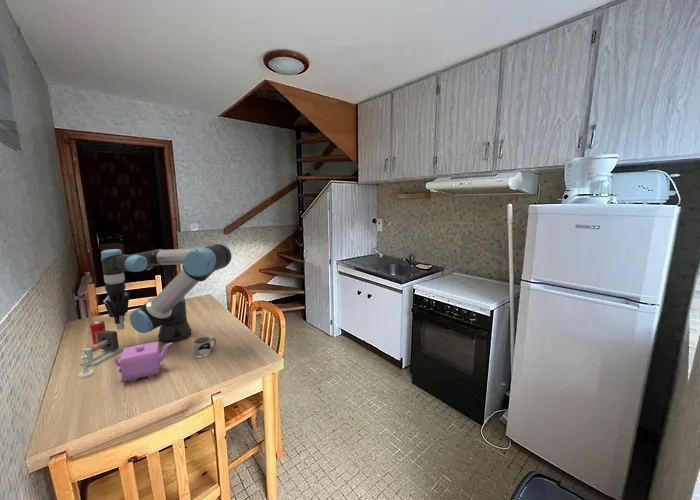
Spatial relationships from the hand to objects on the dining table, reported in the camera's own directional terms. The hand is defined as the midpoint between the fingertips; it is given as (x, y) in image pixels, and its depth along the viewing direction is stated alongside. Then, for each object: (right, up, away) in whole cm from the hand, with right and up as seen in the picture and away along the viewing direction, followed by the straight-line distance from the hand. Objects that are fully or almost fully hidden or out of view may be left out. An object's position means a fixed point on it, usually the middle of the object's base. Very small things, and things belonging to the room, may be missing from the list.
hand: (120, 328), depth 142 cm
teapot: (+28, -13, -21) cm, 37 cm away
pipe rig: (-1, -10, -9) cm, 14 cm away
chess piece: (+4, -13, -22) cm, 26 cm away
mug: (+44, -10, -4) cm, 45 cm away
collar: (-1, -8, -6) cm, 10 cm away
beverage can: (-11, -9, +2) cm, 14 cm away
